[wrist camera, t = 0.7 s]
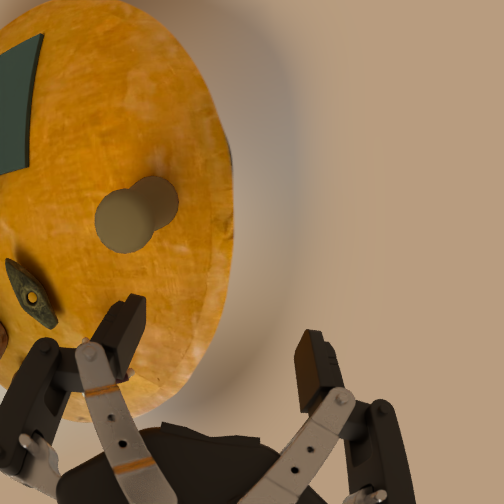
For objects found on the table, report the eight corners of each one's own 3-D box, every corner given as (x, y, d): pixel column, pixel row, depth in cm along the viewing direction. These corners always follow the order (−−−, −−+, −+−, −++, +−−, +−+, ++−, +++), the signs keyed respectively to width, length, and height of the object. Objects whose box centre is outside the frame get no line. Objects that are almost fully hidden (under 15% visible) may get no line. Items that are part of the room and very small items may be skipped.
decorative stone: (69, 281, 31) (52, 298, 26) (63, 322, 32) (49, 341, 28) (15, 248, 28) (-5, 260, 23) (12, 289, 30) (-4, 304, 25)
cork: (179, 228, 30) (158, 264, 20) (129, 229, 29) (89, 264, 19) (178, 174, 28) (152, 183, 18) (126, 177, 27) (80, 189, 17)
